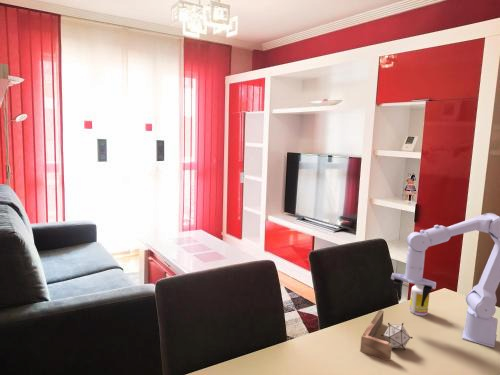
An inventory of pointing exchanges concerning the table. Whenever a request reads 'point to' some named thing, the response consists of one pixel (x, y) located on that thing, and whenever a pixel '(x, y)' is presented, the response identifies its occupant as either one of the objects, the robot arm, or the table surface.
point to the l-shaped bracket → (375, 340)
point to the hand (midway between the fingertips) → (410, 302)
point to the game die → (396, 336)
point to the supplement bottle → (418, 301)
